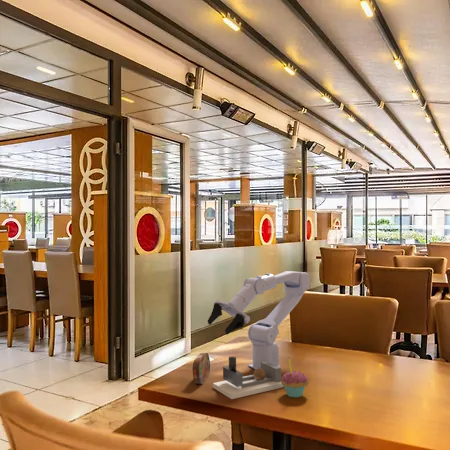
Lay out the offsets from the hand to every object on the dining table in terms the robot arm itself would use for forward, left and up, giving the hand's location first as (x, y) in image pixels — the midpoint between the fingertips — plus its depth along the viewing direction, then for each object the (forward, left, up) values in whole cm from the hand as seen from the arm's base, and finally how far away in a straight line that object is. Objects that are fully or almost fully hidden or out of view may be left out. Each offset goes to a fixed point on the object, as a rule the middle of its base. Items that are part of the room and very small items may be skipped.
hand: (217, 327), depth 157 cm
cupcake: (-15, +23, -19) cm, 33 cm away
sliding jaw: (0, +10, -16) cm, 19 cm away
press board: (-6, +10, -19) cm, 22 cm away
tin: (+4, -5, -19) cm, 20 cm away
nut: (-11, +10, -15) cm, 21 cm away
